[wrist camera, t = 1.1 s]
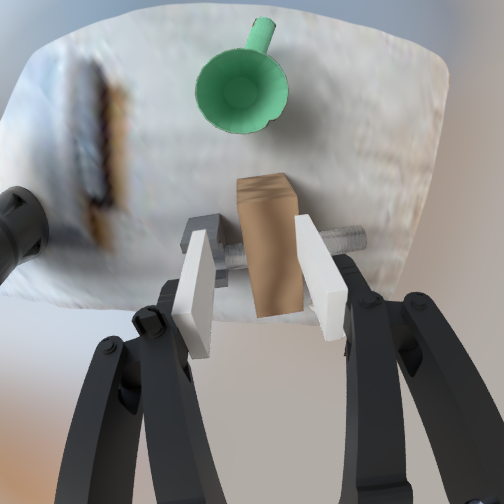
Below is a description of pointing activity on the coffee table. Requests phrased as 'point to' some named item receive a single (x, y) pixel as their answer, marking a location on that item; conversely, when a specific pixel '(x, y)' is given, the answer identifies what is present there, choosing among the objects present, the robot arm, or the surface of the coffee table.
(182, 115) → the coffee table surface
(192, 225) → the cradle
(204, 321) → the robot arm
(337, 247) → the axle
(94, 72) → the coffee table surface
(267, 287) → the beam
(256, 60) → the mug
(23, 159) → the coffee table surface
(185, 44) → the coffee table surface
